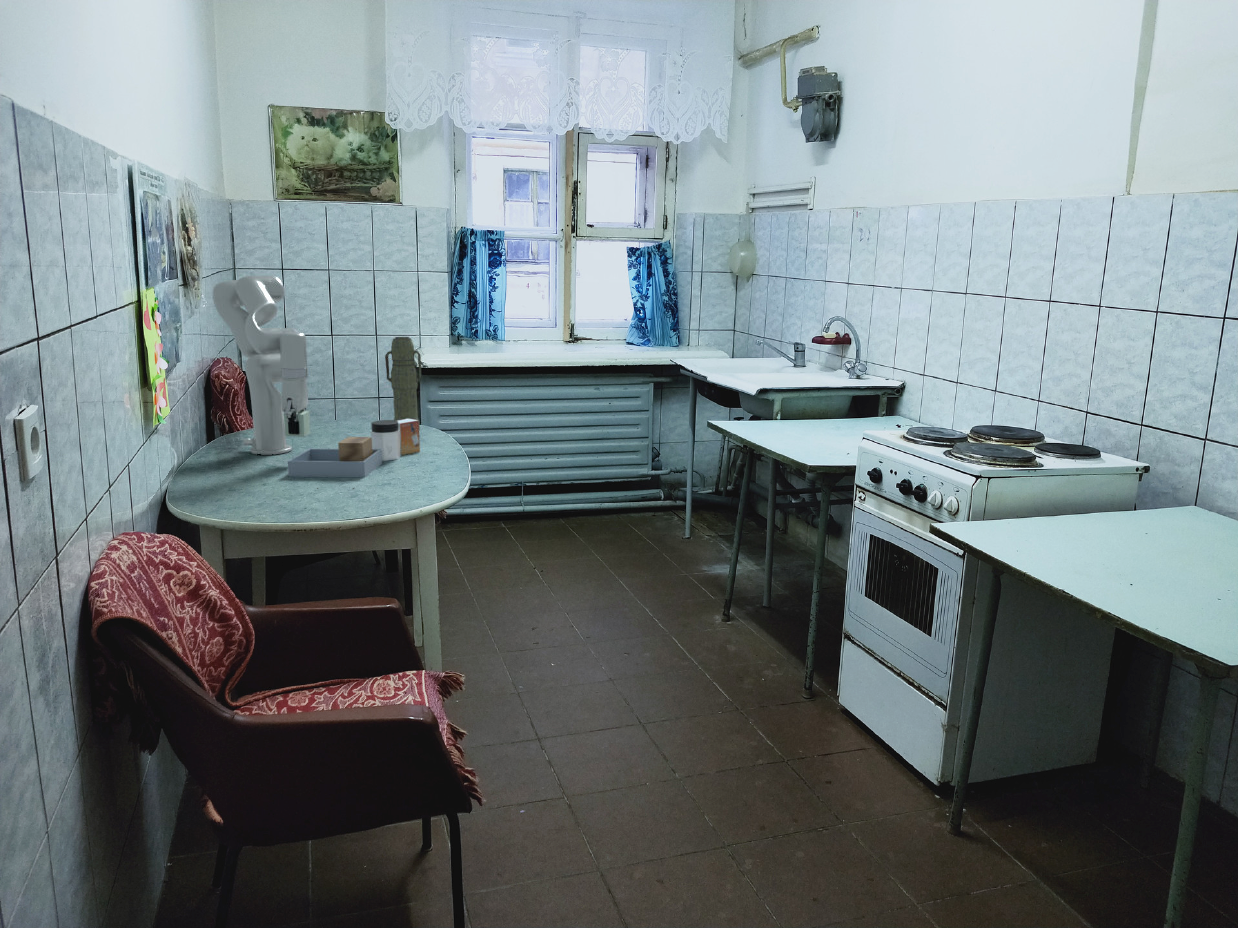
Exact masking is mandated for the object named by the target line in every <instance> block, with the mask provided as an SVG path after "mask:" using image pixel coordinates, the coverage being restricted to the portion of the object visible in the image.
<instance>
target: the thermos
mask: <svg viewBox="0 0 1238 928" xmlns="http://www.w3.org/2000/svg"><path fill="white" fill-rule="evenodd" d="M415 354H416V355H417V358H418V359H417V360H418V361H417V362H418V365H417V366H418V372H417V369H416V364H415ZM389 355H391V361H392V366H391V367H392V368H391V371H390V366H389V365H390V363H389V360H390V359H389ZM384 359H385V371H386V380H387V381H389V382H390V383H391V389H392V393H393V414H394V417H393V420H394V421H398V420H404V419H413V420H418V421H419V422H420V419H419V417H418V415H419V414H418V400H417V399H418V398H417V389H418V382H421V381H422V359H421V353H420V352H419V351H418V350H416V349H415V346H414V343H413V340H412V337H410V336H395V337H394V338H392V342H391V350H390V351H387V353H386V354H385V355H384ZM420 425H421V424H420V423H419V431H420V428H421V427H420ZM419 438H421V437H420V434H419Z"/></svg>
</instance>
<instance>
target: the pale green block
mask: <svg viewBox="0 0 1238 928" xmlns="http://www.w3.org/2000/svg"><path fill="white" fill-rule="evenodd" d="M294 410H295V409H292V410H291V411H294ZM292 414H293V415H294V416H295V413H292ZM310 418H311V417H310V411H309V410H306V411H299V412H298V421H299V432H300V433H299V434H298V435H297V434H289V433H288V421H287V416H286V414H285V412H284V427H285V436H286V437H295V438H297V437H298V438H305V437H307V436H309V435H310V434H311V420H310Z"/></svg>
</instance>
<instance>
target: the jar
mask: <svg viewBox="0 0 1238 928" xmlns="http://www.w3.org/2000/svg"><path fill="white" fill-rule="evenodd" d="M370 426H371V432H370V437H372V449H381V451H382V462H383V461H385V462H386V461H393V460H399V458H400V457H402V455H400V436H399V429H398V421H394V419H393V420H390V419H383V420H374V421H372V422H371V425H370Z"/></svg>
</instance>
